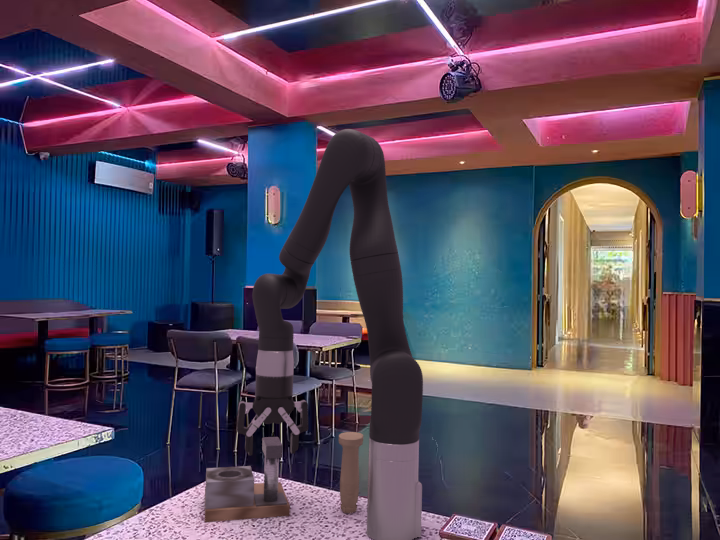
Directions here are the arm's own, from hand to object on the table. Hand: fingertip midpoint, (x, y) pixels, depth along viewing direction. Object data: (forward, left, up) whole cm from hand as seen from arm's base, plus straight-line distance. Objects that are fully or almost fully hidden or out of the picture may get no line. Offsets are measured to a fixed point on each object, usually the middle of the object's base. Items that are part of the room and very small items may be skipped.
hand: (271, 453), depth 111 cm
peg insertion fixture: (+4, -3, -11) cm, 13 cm away
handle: (-16, +4, -11) cm, 20 cm away
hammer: (0, 0, -9) cm, 9 cm away
